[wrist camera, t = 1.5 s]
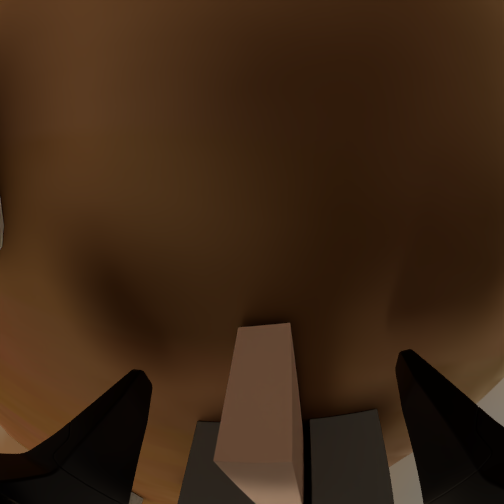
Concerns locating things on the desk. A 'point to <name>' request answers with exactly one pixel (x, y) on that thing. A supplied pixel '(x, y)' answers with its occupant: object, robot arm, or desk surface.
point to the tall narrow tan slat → (263, 418)
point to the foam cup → (1, 225)
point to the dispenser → (316, 470)
